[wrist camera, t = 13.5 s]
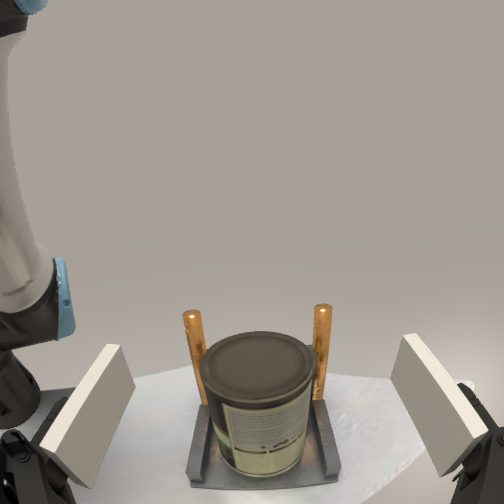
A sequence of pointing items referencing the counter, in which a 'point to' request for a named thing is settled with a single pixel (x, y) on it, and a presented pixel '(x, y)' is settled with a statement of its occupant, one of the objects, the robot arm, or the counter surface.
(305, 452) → the keeper bracket
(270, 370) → the coffee can
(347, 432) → the counter surface
